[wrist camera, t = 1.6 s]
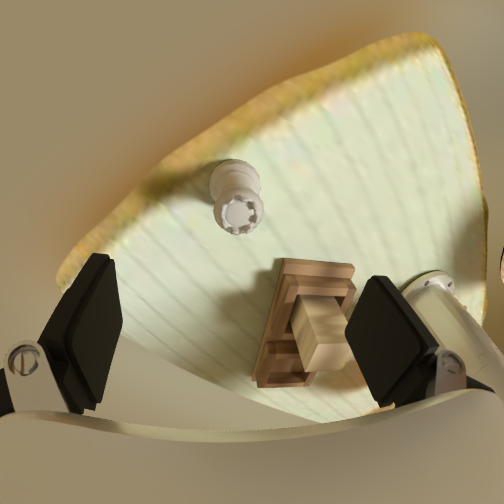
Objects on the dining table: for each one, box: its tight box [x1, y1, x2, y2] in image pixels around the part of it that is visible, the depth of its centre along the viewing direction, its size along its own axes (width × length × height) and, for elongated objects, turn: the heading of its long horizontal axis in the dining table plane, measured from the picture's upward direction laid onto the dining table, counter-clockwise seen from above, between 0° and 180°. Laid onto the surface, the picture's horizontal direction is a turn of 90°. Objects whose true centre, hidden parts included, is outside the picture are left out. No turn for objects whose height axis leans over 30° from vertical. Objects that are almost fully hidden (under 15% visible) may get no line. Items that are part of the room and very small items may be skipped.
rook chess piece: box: [209, 159, 264, 235], centre depth 20 cm, size 4×4×8 cm
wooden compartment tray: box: [252, 258, 356, 388], centre depth 30 cm, size 8×20×9 cm, turn 171°
